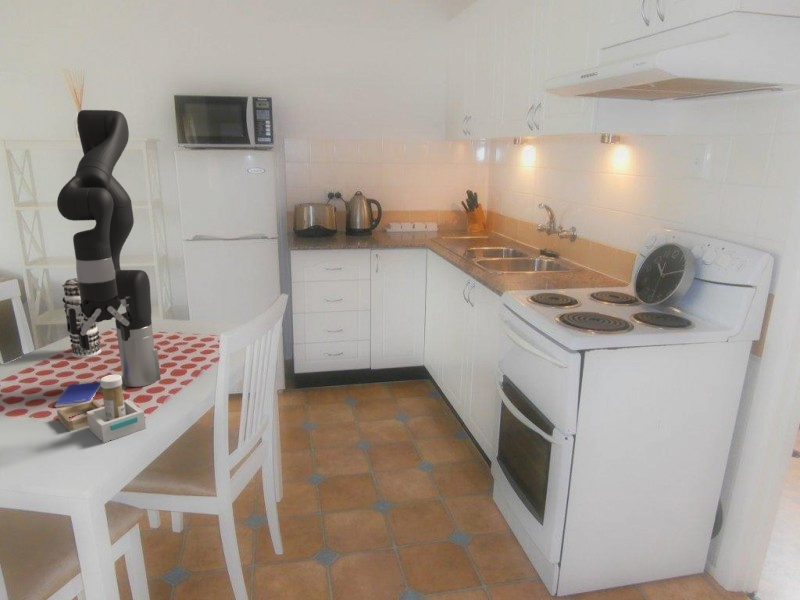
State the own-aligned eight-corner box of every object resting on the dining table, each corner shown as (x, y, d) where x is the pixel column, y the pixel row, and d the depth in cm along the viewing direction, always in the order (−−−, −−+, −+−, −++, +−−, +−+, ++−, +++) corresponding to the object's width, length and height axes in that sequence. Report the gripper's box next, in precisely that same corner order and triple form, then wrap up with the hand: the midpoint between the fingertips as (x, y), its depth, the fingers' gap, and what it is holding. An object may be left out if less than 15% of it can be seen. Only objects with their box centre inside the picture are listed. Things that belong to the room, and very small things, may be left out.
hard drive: (88, 400, 147) (100, 382, 158) (54, 403, 145) (68, 384, 156) (89, 406, 147) (101, 387, 159) (55, 409, 145) (69, 390, 157)
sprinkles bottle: (130, 428, 135) (124, 377, 131) (110, 435, 132) (103, 383, 128) (123, 422, 138) (117, 372, 134) (104, 428, 135) (97, 377, 131)
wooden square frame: (95, 408, 145) (93, 399, 144) (107, 419, 139) (106, 410, 138) (58, 419, 139) (56, 410, 138) (70, 431, 133) (68, 422, 132)
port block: (129, 415, 141) (127, 399, 140) (146, 428, 135) (144, 412, 134) (88, 428, 135) (86, 411, 133) (104, 443, 128) (102, 426, 127)
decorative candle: (90, 359, 178) (79, 283, 171) (64, 357, 179) (52, 282, 172) (108, 349, 186) (99, 277, 180) (84, 347, 188) (73, 276, 181)
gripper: (122, 269, 132) (130, 333, 136) (55, 279, 122) (67, 348, 126) (135, 275, 127) (143, 341, 132) (67, 286, 117) (78, 357, 121)
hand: (106, 344), depth 129 cm, fingers open, 8 cm apart
